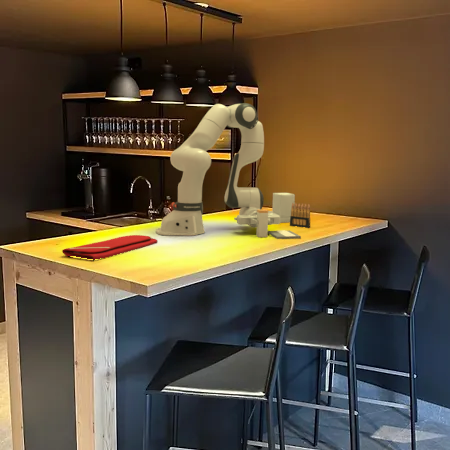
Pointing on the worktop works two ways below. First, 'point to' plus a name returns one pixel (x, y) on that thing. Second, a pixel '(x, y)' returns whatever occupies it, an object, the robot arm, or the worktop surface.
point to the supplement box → (283, 205)
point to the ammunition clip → (300, 216)
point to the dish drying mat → (110, 247)
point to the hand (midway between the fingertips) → (262, 222)
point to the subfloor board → (283, 234)
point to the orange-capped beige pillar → (262, 223)
